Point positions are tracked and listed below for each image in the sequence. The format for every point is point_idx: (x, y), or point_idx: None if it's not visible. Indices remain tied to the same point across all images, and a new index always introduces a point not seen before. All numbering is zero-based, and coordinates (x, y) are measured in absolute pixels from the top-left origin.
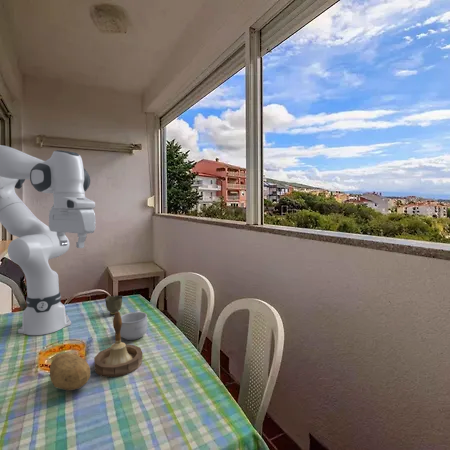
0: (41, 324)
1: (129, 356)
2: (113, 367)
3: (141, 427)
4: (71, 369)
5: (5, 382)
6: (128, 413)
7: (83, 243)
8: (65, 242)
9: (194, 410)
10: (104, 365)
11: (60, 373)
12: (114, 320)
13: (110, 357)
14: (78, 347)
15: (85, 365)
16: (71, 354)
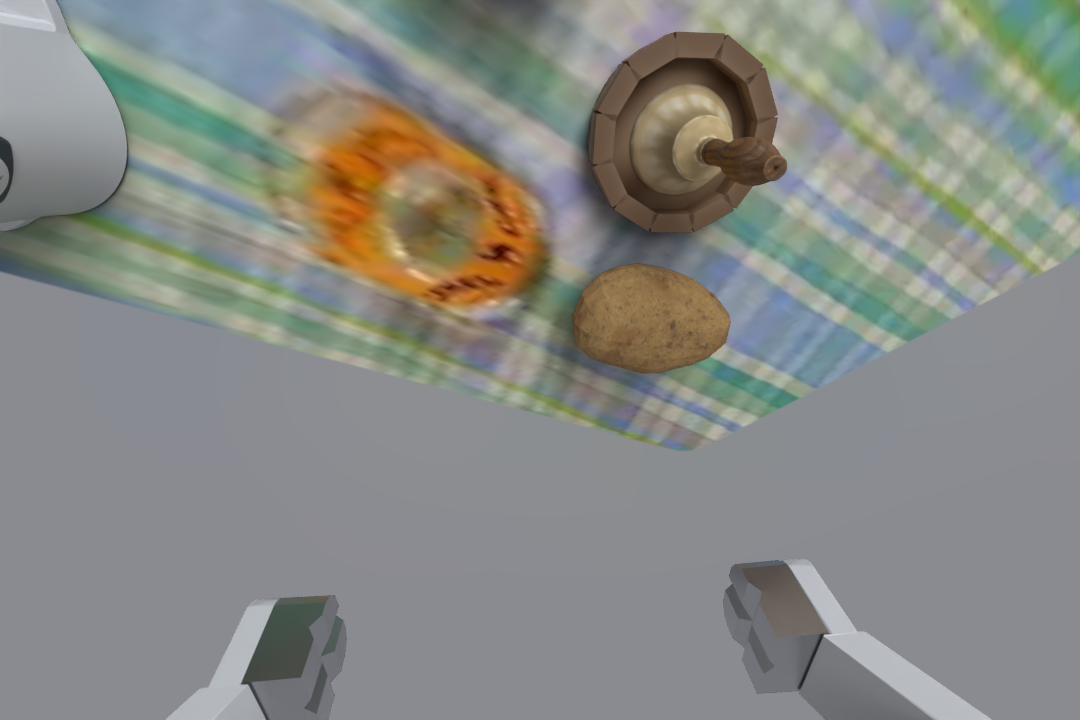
0: (75, 176)
1: (720, 111)
2: (731, 211)
3: (917, 294)
4: (705, 355)
5: (455, 390)
6: (862, 282)
7: (837, 617)
8: (318, 656)
9: (1029, 180)
10: (692, 221)
11: (673, 368)
12: (755, 185)
13: (681, 181)
14: (402, 143)
15: (715, 314)
16: (627, 315)
